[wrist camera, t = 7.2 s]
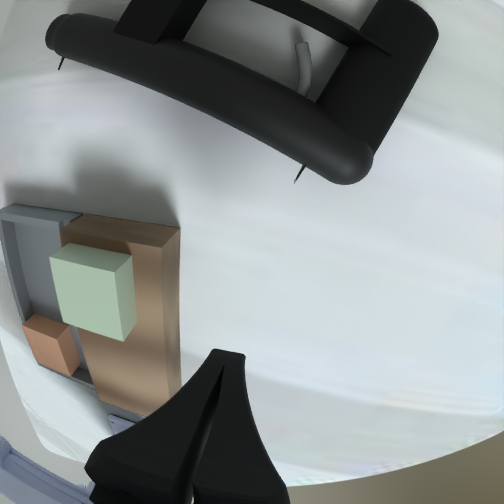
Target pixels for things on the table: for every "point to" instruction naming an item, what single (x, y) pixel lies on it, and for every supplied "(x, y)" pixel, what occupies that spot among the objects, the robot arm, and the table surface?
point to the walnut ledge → (148, 314)
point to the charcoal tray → (37, 267)
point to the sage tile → (95, 289)
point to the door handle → (261, 87)
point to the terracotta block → (52, 344)
